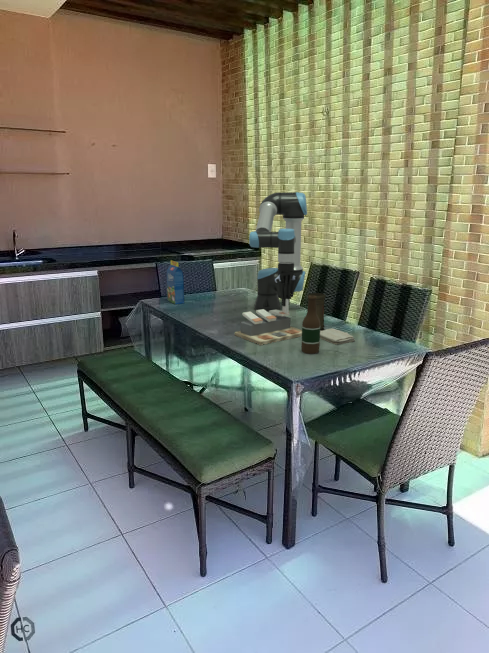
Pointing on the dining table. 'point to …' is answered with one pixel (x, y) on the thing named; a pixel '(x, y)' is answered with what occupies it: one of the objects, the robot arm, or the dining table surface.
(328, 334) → the washcloth
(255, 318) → the switch
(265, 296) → the robot arm
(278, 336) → the switch board
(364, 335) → the dining table surface
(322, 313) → the container
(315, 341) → the beer bottle
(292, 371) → the dining table surface
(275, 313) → the switch
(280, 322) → the switch housing
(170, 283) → the blue food package
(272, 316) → the switch middle
